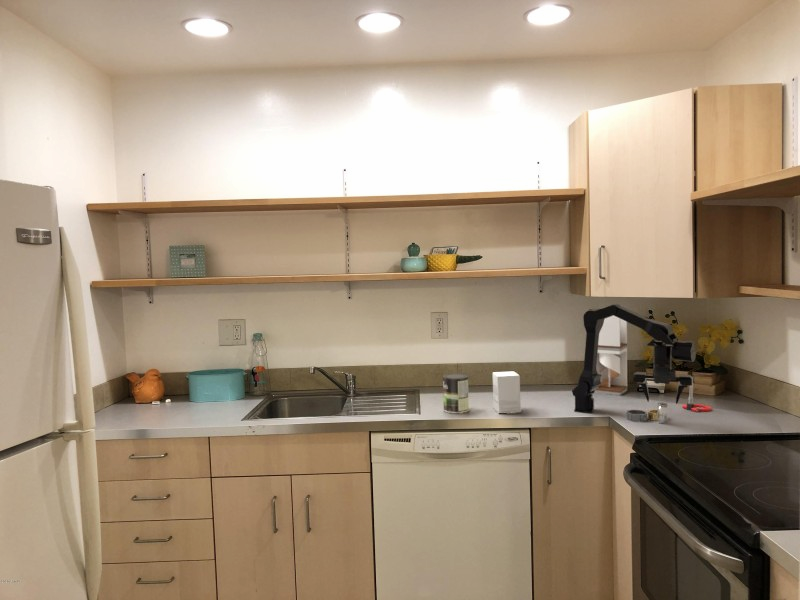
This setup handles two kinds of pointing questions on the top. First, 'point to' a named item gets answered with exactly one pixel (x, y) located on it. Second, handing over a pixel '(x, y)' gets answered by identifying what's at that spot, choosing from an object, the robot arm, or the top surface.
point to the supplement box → (506, 392)
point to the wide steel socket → (636, 415)
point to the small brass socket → (653, 414)
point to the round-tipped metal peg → (662, 412)
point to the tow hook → (691, 406)
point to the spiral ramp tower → (612, 356)
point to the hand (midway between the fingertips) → (662, 402)
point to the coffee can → (455, 393)
